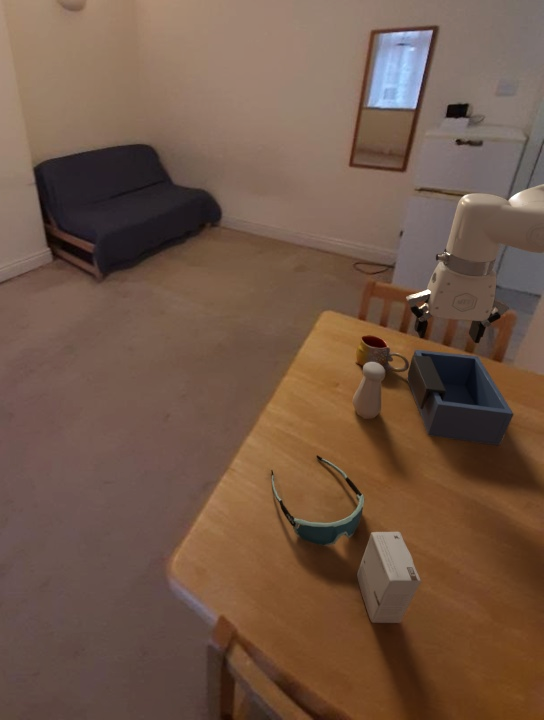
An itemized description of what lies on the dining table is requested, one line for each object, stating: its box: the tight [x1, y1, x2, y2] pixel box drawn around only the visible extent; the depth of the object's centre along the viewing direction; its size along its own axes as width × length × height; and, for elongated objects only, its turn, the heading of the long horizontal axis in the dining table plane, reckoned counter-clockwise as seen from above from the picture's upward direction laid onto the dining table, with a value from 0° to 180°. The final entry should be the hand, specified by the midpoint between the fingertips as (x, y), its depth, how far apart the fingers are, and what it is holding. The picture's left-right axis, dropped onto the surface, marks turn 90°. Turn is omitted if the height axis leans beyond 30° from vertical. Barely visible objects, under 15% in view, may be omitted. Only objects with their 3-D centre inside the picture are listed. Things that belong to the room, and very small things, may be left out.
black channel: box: [407, 354, 446, 409], centre depth 87 cm, size 4×10×6 cm, turn 168°
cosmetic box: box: [356, 531, 422, 624], centre depth 57 cm, size 6×4×12 cm
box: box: [406, 349, 514, 446], centre depth 87 cm, size 13×16×9 cm
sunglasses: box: [270, 454, 365, 546], centre depth 72 cm, size 14×15×5 cm
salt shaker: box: [352, 362, 386, 420], centre depth 86 cm, size 6×6×13 cm
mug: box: [355, 334, 410, 373], centre depth 100 cm, size 12×7×7 cm, turn 45°
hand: (446, 336), depth 81 cm, fingers open, 9 cm apart
